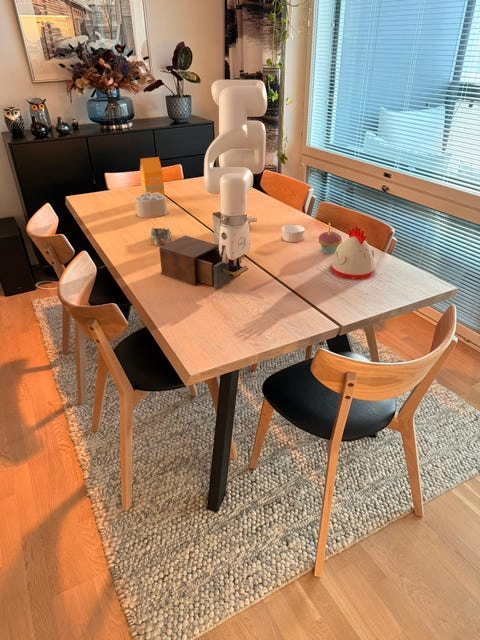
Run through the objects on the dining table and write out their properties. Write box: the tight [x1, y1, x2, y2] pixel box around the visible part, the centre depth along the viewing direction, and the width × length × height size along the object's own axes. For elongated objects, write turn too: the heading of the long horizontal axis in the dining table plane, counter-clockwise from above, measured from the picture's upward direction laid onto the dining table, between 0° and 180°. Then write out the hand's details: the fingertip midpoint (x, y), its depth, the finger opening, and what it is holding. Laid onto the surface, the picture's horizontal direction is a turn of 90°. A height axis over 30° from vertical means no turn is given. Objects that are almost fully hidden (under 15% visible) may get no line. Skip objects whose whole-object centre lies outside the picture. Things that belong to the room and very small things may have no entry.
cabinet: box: [158, 235, 219, 286], centre depth 151 cm, size 15×13×10 cm
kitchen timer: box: [330, 226, 375, 280], centre depth 151 cm, size 14×14×15 cm
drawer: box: [195, 249, 249, 290], centre depth 145 cm, size 19×11×8 cm, turn 54°
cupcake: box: [318, 221, 343, 255], centre depth 165 cm, size 9×8×12 cm
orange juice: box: [139, 156, 166, 197], centre depth 216 cm, size 8×9×20 cm
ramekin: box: [281, 224, 305, 243], centre depth 178 cm, size 9×9×4 cm
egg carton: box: [150, 227, 172, 247], centre depth 177 cm, size 11×8×4 cm
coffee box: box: [212, 211, 245, 258], centre depth 161 cm, size 9×6×16 cm
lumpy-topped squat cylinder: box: [135, 192, 169, 218], centre depth 203 cm, size 10×13×9 cm
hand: (234, 275), depth 142 cm, fingers closed
